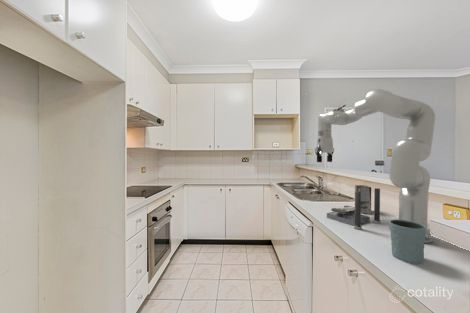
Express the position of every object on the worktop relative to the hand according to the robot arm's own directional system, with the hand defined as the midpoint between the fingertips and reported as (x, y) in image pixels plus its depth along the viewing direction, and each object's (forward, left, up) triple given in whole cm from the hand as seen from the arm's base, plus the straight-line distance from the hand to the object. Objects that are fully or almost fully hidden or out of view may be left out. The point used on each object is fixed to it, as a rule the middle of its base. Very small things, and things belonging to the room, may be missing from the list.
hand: (324, 162), depth 131 cm
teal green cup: (-52, +23, -31) cm, 65 cm away
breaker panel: (-16, +1, -31) cm, 35 cm away
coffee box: (-11, -22, -31) cm, 40 cm away
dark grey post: (-27, -7, -31) cm, 42 cm away
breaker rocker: (-15, +1, -26) cm, 30 cm away
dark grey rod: (-27, +10, -31) cm, 42 cm away
